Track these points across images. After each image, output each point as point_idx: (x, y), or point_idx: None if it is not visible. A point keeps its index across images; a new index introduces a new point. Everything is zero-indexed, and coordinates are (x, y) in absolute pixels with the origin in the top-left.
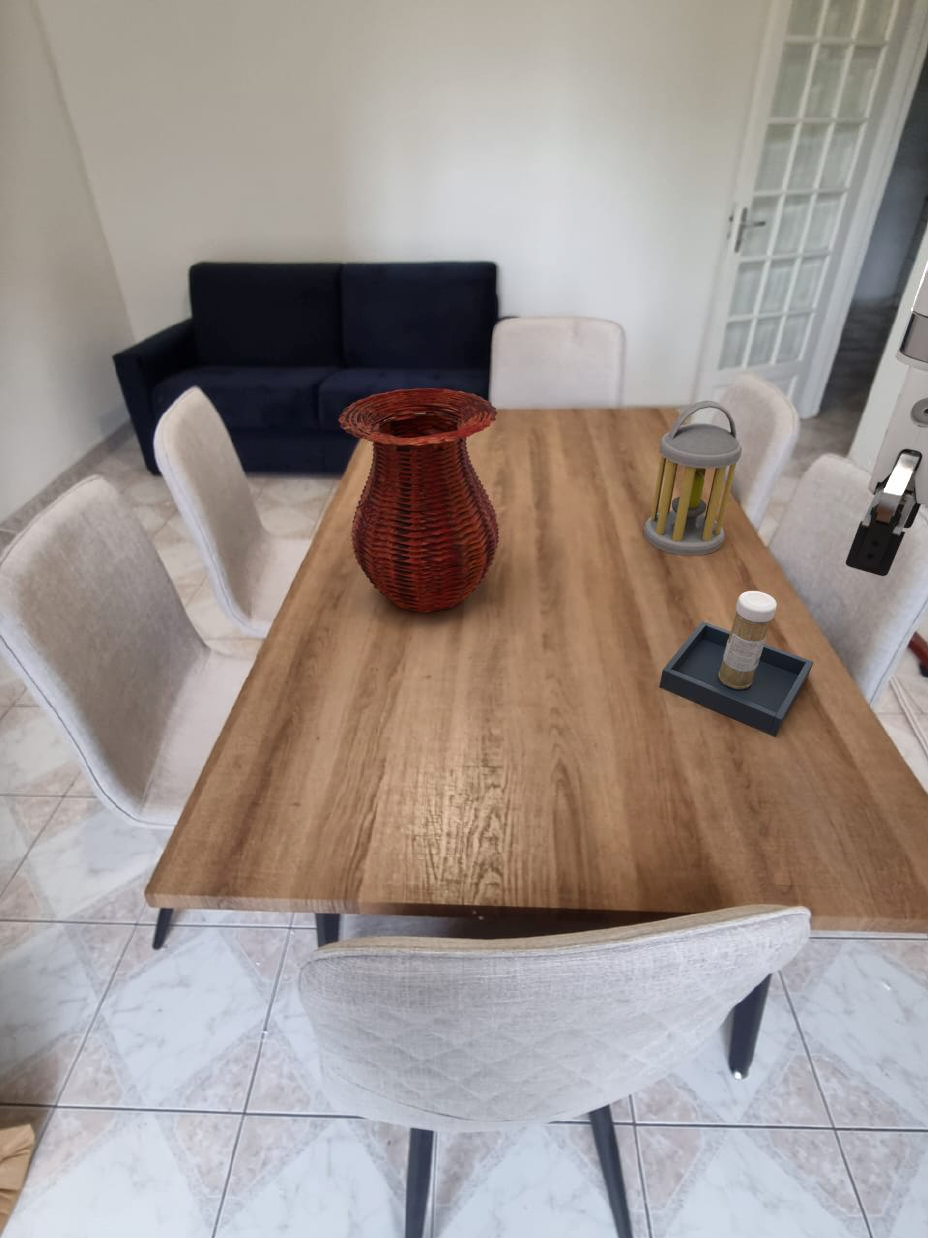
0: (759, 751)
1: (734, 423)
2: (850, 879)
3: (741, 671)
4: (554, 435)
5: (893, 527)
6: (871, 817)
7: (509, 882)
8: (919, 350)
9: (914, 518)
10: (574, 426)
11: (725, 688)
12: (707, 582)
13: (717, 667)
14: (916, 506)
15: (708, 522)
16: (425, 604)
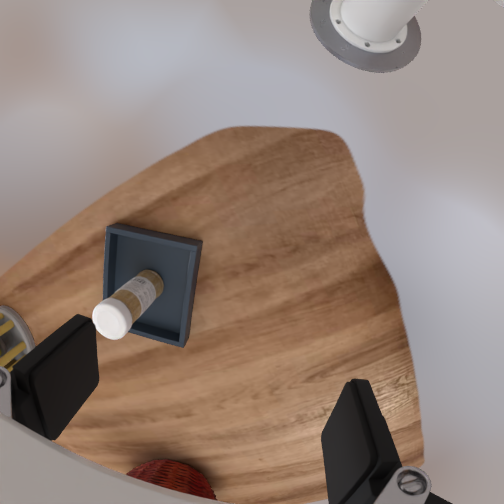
0: (226, 251)
1: None
2: (332, 175)
3: (155, 288)
4: None
5: (438, 499)
6: (262, 159)
7: (403, 371)
8: None
9: (77, 329)
10: None
11: (165, 289)
12: (47, 314)
13: None
14: (61, 353)
15: (3, 331)
16: (205, 481)
